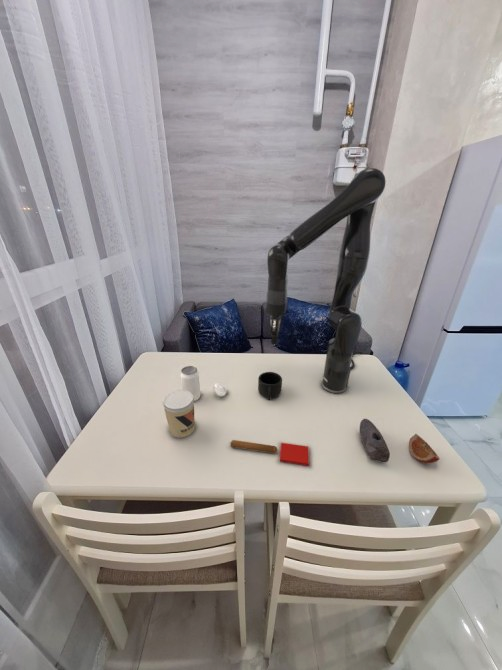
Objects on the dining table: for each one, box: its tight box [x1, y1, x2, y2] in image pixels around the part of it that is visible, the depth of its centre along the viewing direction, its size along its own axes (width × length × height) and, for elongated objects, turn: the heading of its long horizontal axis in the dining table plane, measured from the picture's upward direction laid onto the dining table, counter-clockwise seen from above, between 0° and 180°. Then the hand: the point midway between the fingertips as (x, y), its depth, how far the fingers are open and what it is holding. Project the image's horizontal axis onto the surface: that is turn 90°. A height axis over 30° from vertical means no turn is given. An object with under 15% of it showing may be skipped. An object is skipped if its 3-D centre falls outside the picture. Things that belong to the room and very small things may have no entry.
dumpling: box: [213, 382, 227, 398], centre depth 101 cm, size 7×5×4 cm
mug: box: [257, 371, 283, 401], centre depth 99 cm, size 12×9×7 cm
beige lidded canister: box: [162, 389, 195, 439], centre depth 83 cm, size 9×9×12 cm
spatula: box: [230, 439, 310, 467], centre depth 77 cm, size 23×6×2 cm, turn 80°
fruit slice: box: [408, 433, 440, 464], centre depth 75 cm, size 8×7×5 cm
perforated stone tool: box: [359, 418, 391, 464], centre depth 78 cm, size 15×5×7 cm, turn 176°
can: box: [180, 365, 201, 402], centre depth 97 cm, size 6×6×12 cm
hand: (274, 342), depth 104 cm, fingers closed
